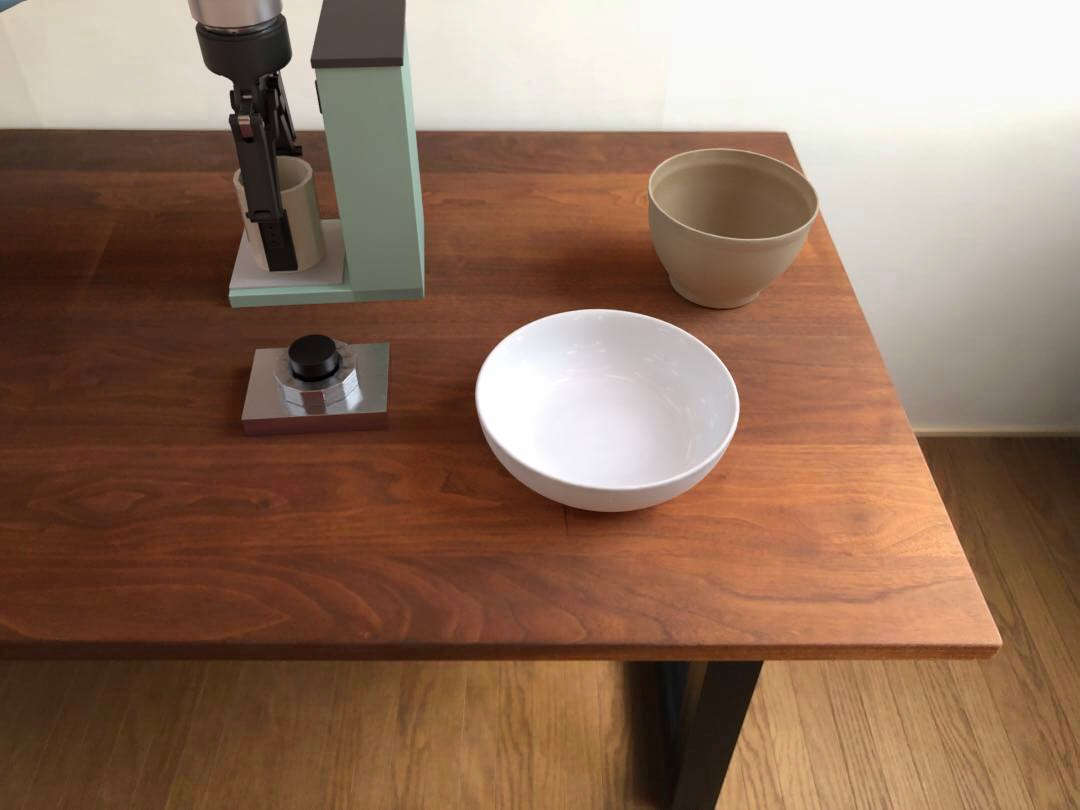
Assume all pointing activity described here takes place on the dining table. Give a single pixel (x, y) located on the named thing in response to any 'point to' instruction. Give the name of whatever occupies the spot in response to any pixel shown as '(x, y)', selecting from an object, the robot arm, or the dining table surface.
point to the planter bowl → (728, 222)
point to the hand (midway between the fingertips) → (289, 242)
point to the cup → (290, 214)
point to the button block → (319, 393)
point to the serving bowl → (606, 408)
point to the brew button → (313, 358)
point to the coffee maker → (358, 168)
